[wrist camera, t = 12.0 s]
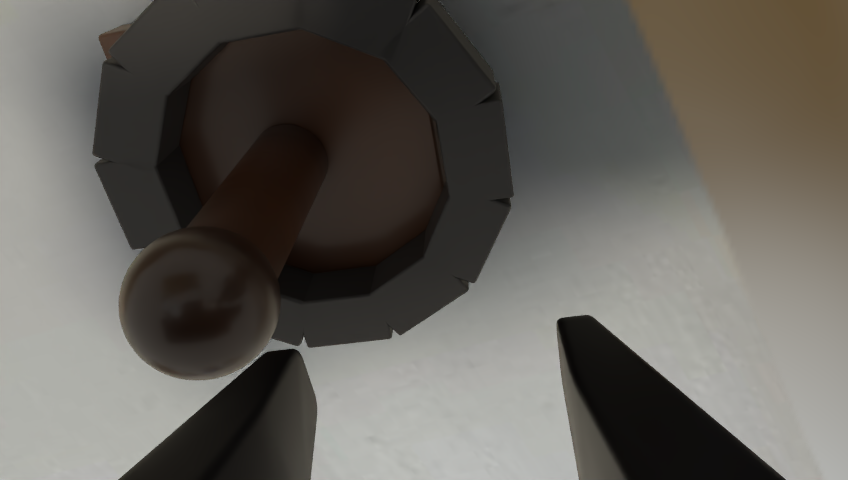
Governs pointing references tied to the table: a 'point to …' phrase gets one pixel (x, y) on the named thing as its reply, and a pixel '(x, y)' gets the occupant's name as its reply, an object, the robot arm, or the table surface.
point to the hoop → (358, 29)
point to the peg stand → (277, 194)
